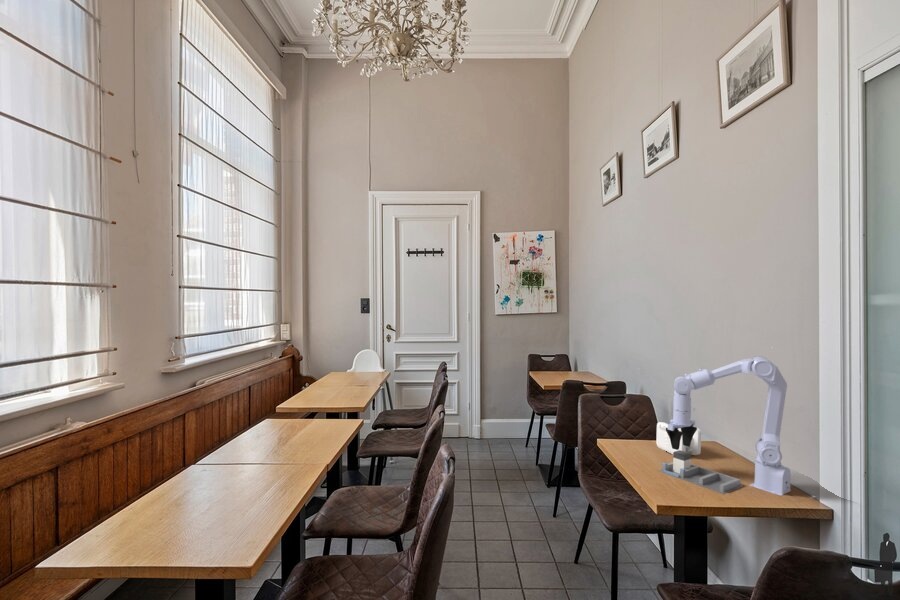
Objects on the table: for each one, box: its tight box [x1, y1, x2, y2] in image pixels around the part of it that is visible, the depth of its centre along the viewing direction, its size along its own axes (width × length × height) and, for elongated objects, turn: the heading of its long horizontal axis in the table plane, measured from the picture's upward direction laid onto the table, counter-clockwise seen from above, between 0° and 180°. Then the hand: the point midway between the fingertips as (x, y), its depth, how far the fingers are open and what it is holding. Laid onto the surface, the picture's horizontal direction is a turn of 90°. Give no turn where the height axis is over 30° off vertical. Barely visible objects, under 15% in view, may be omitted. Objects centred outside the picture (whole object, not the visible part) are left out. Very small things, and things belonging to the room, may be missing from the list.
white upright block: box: [672, 450, 691, 473], centre depth 165 cm, size 4×4×7 cm
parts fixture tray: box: [657, 461, 744, 495], centre depth 160 cm, size 23×13×3 cm, turn 33°
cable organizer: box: [656, 421, 702, 456], centre depth 188 cm, size 15×11×12 cm
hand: (681, 447), depth 165 cm, fingers open, 7 cm apart
